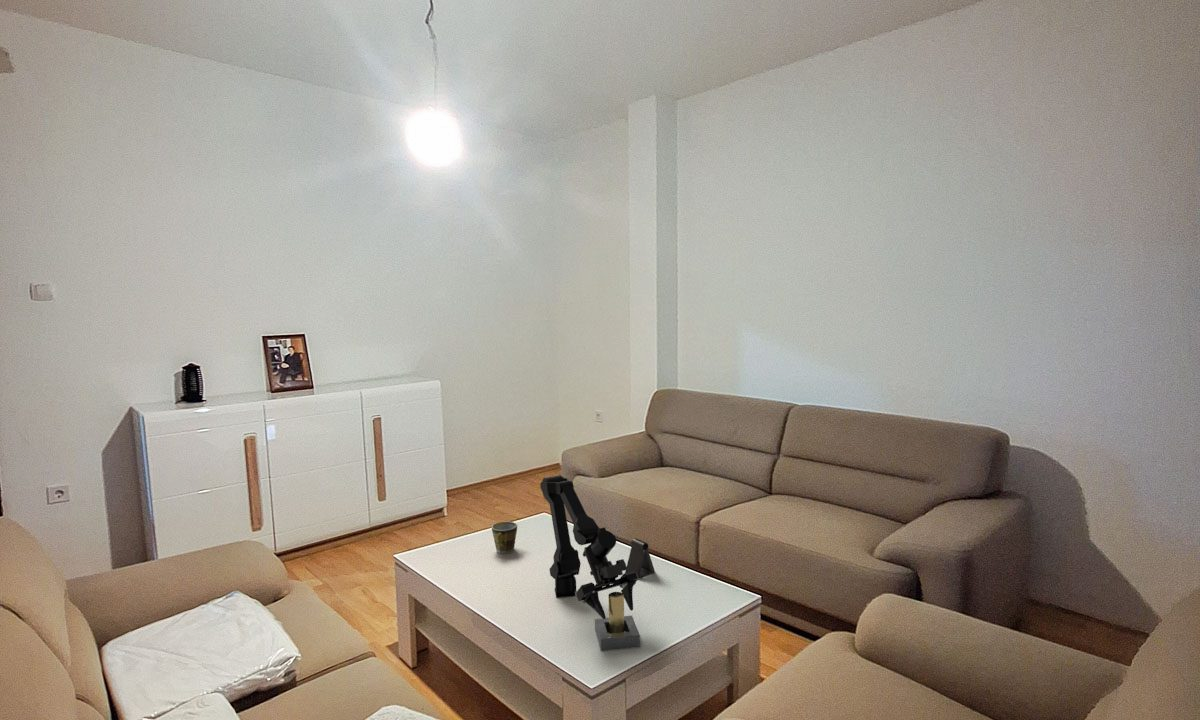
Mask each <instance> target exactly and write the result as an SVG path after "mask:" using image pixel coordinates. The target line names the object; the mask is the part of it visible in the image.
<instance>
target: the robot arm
mask: <svg viewBox="0 0 1200 720" xmlns="http://www.w3.org/2000/svg"><path fill="white" fill-rule="evenodd" d="M539 484H540V485H539V487H540V490H541V492H542V495H543V498H544V500H546V502H547V503H548V504H549V509H550V515H551V520H552V527H553V532H554V539H555V544H556V545H555V547H556V548H555V551H554V554H553V563H552V565H551V566H550V568H549V575H550V576H551V578H552V579H554V594H555V598H567V597H568V598H569V597H575V596H576V598H577V602H582V603H583V604H587V605H588V606H590V608H592V609H593V610H594V611H595V612H596V613H597V614H598V615H599V616H600V618H603V619H605V618H607V616H606V614H605V610H604V608H603V606H602V603H601V601H600V598H599V592H602V591H605V590H608V589H613V588H615V587H620V588H621V590H620V592H621V593H623V594H624V602H625V603H626V605H627V607H628V608H629V610H630V611H633V610H634V599H633V589H634V586H635V585H636V584H637V582H638V581H639V579H640V578H639V577H638V575H637V573H636V572H634V571H632V572H628V573H625V572H624V573H623V571H626V569H627V564H626V562H625V559H623V558H622V559H618V560H615V564H613V562H612V561H611V560H608V557H607V556H608V555H609V553H611V551H613V548H615V546H616V544H617V537H616V535H615V534H614V533H612V531H609V530H607V529H606V527H600V526H598V524H597V522H596V521H595V519H594V518H592V517H590V516H589V515H588V514H587V512H586V510H585V509H584V506H583V505H582V502H581V500H580V499H579V496H578V494H577V492H576V491H575V490H576V489H574V487H575V486H574V483H573V481H572V480H570V479H569V478H567V477H564V476H562V474H559V475H552V476H546V477H543V479H542V481H540V483H539ZM566 510H567V512H566ZM566 513H568V515H569V517H570V519H571V521H572V524H573V526H572V527H573V529H572V533H573V538H574V541H575V542H576V543H577V544H578V546H579V545H580V546H585V545H588V546H585V547H584V549H583V552H582V556H583V557H585V558H586V560H587V563H588V565H589V568H590V570H591V571H589V574H590V575H591V576H593V579H594V581H595V584H594V582H592V581H591V582H589V583H588V582H587V583H585V584H582V585H580V587H579V588H578V589H577V579H576V577H575V576H578V575H580V569H581V565H582V563H581V560H580V557H579V551H578V550H577V549H575V548H574V547H573V545H572V543H571V537H570V531H569V526H568V525H569V524H568V519H567V514H566ZM619 576H620V577H619ZM618 577H619V578H618Z"/></svg>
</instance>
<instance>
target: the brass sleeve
mask: <svg viewBox="0 0 1200 720" xmlns="http://www.w3.org/2000/svg"><path fill="white" fill-rule="evenodd" d="M624 616H625V598H624V594H623V593H622V592H621V591H612V592H610V593H609V594H608V618H609V633H608V634H611V633H621V632H624Z"/></svg>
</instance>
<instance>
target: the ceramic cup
mask: <svg viewBox="0 0 1200 720" xmlns="http://www.w3.org/2000/svg"><path fill="white" fill-rule="evenodd" d="M491 531H492V537H493V539H494V544H495V550H496V552H498V554H505V555H507V554H511V553H513V551H514V550H515V546H516V545H515V544H516V538H517V531H518V523H516V522H514V521H505V520H504V521H498V522H496V523H494V524H492V526H491Z"/></svg>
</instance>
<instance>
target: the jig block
mask: <svg viewBox="0 0 1200 720" xmlns="http://www.w3.org/2000/svg"><path fill="white" fill-rule="evenodd" d="M594 631H595V635H596V638H597V642H598V643H597V644H598V647H599V648H600V652H606V651H615V650H624V649H625V650H626V649H636V648H641V634H640V632H639V629H638V627H637V625H636V622H635V620H634V618H633V615H624V632H621V633H611V634H609V617H606V618H605V619H603V618H602V617H600V618H594Z"/></svg>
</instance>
